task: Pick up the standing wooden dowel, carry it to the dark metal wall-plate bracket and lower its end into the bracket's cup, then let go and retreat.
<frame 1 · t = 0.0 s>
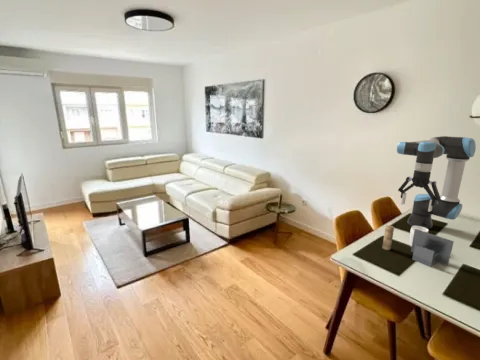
hand: (415, 207, 146), 28 cm above the table, fingers open, 13 cm apart
cup: (416, 246, 160), on the table
wooden dowel: (386, 248, 158), on the table
bracket: (424, 260, 145), on the table
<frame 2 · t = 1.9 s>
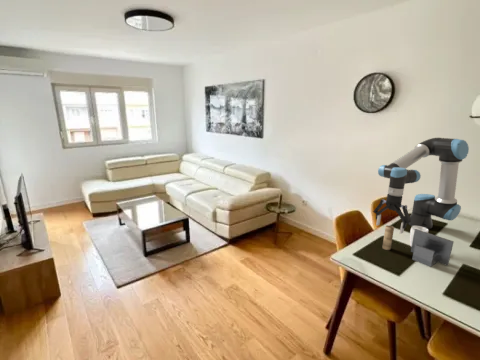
hand: (389, 228, 154), 13 cm above the table, fingers open, 13 cm apart
nothing on the table moved.
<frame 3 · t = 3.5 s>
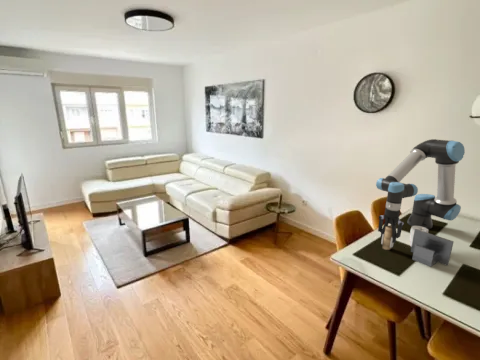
hand: (386, 245, 157), 2 cm above the table, fingers closed on wooden dowel, 4 cm apart
wooden dowel: (386, 248, 158), on the table, touching gripper
everything else where it was.
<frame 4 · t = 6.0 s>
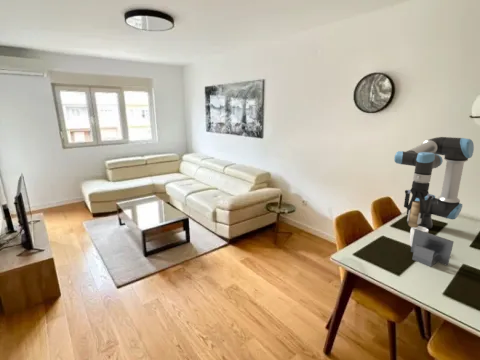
hand: (413, 221, 145), 21 cm above the table, fingers closed on wooden dowel, 4 cm apart
wooden dowel: (412, 225, 146), point 18 cm above the table, touching gripper
everything else where it was.
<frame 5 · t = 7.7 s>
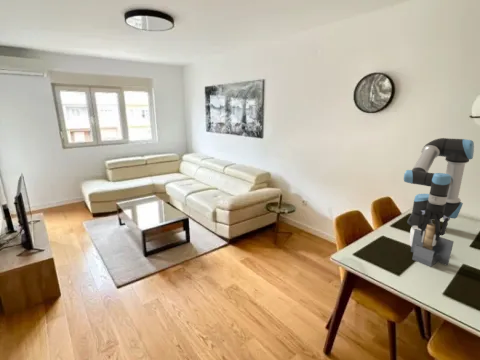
hand: (428, 243, 142), 11 cm above the table, fingers closed on wooden dowel, 4 cm apart
wooden dowel: (427, 248, 143), point 7 cm above the table, touching gripper
everything else where it was.
when the fingers open (7 cm above the table, at t = 8.8 s): wooden dowel stays where it is, resting on bracket.
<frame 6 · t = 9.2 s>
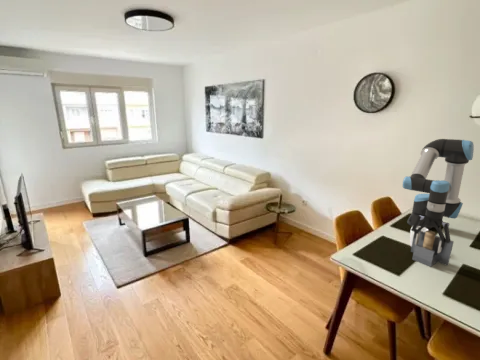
hand: (427, 247, 143), 8 cm above the table, fingers open, 10 cm apart
wooden dowel: (425, 255, 144), point 3 cm above the table, touching bracket
everything else where it was.
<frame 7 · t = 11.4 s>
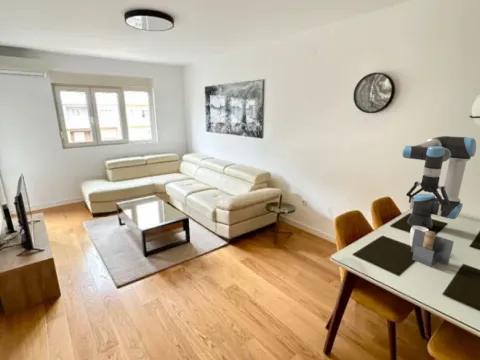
hand: (424, 212, 146), 26 cm above the table, fingers open, 13 cm apart
nothing on the table moved.
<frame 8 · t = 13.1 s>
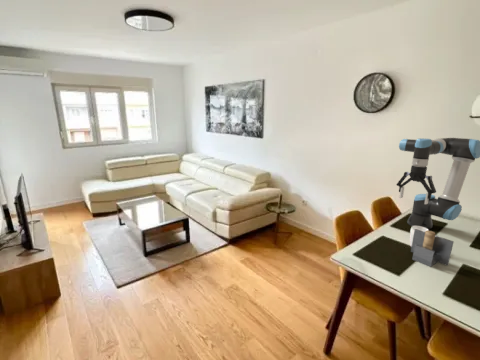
hand: (413, 200, 156), 29 cm above the table, fingers open, 13 cm apart
nothing on the table moved.
at the end: wooden dowel inside the target area on the bracket (0.4 cm from its centre), point 3.0 cm above the bracket's base; wooden dowel tilted 0°; the gripper is holding nothing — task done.
